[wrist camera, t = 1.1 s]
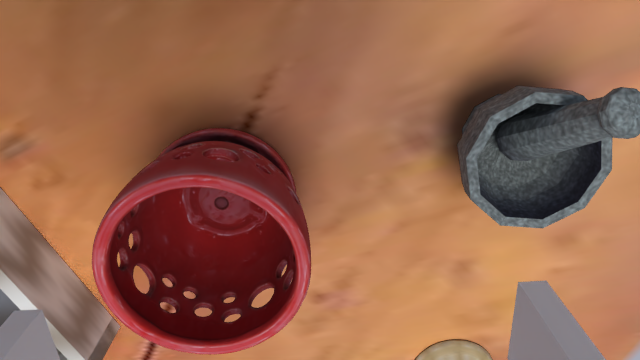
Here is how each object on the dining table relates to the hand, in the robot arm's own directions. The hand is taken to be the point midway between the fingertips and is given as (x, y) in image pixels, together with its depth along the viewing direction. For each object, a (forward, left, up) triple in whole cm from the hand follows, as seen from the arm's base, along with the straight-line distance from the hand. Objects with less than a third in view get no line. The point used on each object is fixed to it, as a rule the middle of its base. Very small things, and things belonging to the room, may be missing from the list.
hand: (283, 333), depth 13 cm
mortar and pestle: (+9, +14, -25) cm, 30 cm away
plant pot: (+4, -8, -25) cm, 27 cm away
